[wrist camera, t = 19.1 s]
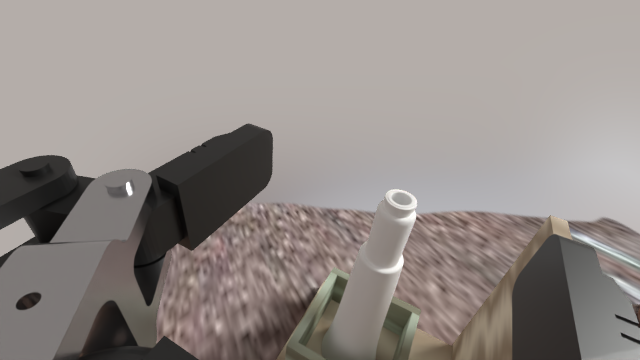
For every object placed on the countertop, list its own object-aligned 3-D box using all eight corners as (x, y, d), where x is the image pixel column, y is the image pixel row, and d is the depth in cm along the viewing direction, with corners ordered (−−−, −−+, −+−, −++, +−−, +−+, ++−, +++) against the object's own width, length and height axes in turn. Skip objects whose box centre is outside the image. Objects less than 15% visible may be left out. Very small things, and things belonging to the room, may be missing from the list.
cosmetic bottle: (375, 386, 32) (455, 237, 19) (317, 375, 32) (356, 220, 19) (374, 329, 37) (437, 180, 24) (324, 320, 37) (359, 167, 24)
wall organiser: (324, 284, 42) (353, 146, 30) (459, 354, 37) (567, 221, 24) (252, 404, 30) (248, 259, 18) (435, 533, 25) (626, 461, 12)
